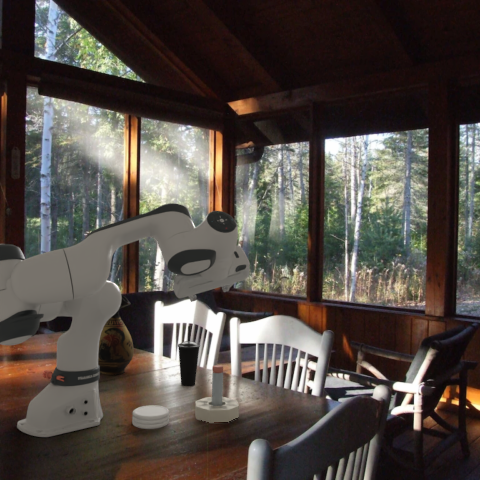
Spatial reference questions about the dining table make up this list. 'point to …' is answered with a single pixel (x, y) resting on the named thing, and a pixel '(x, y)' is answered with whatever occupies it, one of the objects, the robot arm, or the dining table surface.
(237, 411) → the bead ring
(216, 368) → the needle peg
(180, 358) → the drinking cup
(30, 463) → the dining table surface
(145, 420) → the white short cylinder
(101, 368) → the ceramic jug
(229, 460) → the dining table surface
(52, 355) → the dining table surface
